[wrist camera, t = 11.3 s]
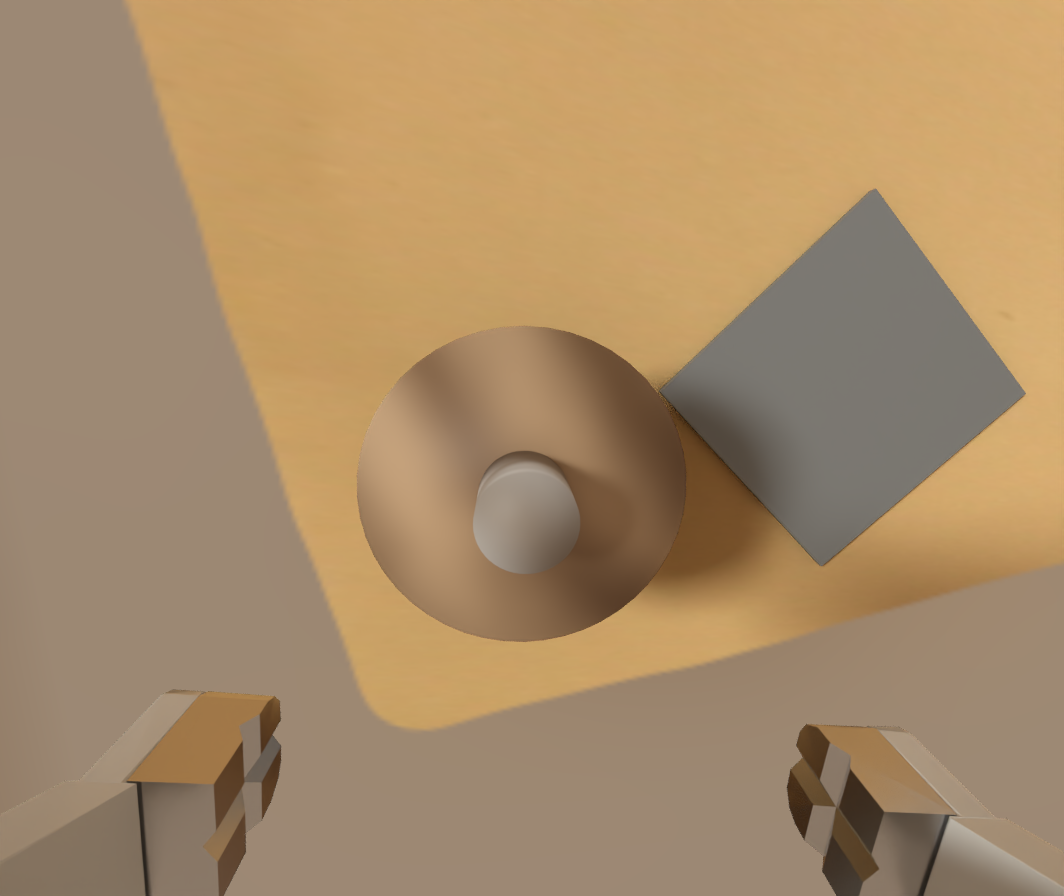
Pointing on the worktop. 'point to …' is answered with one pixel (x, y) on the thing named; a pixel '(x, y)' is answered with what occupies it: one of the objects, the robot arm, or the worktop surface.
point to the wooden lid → (521, 483)
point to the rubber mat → (844, 382)
